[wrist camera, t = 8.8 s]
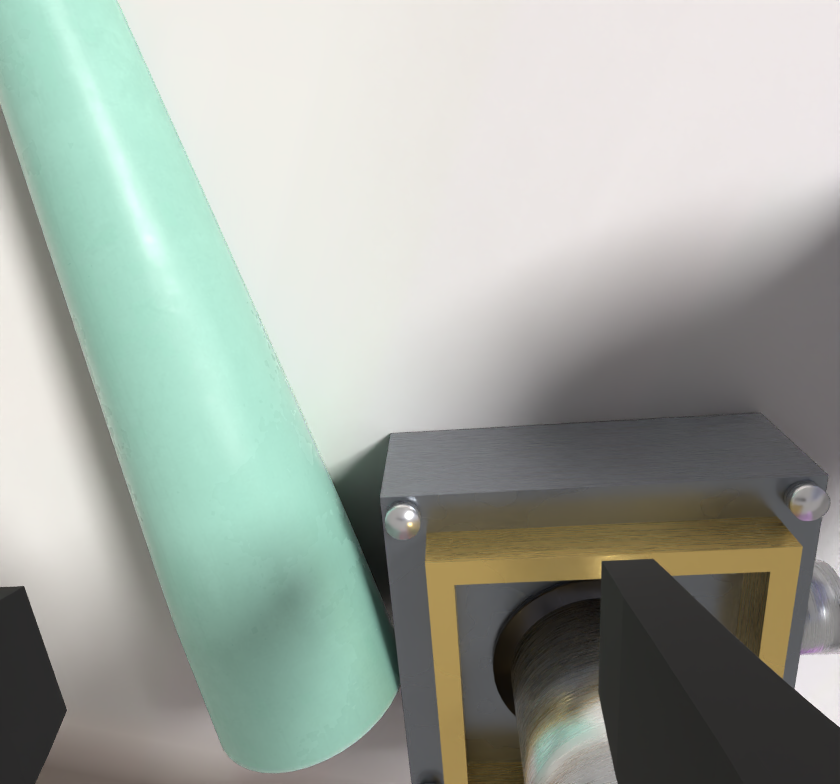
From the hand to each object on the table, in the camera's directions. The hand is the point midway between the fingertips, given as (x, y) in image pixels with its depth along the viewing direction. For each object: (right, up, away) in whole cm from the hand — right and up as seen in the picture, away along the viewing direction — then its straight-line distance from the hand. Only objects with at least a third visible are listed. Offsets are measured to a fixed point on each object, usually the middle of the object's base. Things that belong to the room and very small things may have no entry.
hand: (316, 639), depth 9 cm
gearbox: (+6, -2, +12) cm, 13 cm away
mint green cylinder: (-5, +8, +9) cm, 13 cm away
